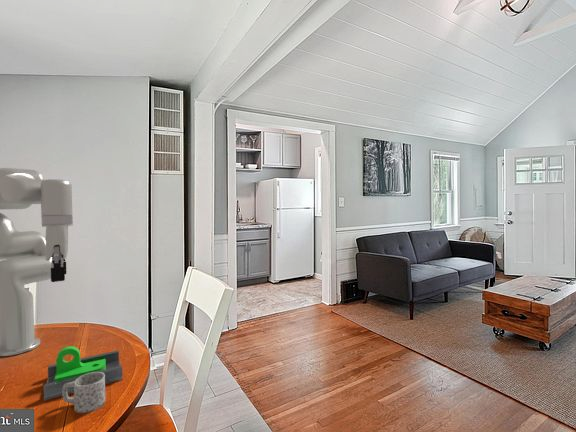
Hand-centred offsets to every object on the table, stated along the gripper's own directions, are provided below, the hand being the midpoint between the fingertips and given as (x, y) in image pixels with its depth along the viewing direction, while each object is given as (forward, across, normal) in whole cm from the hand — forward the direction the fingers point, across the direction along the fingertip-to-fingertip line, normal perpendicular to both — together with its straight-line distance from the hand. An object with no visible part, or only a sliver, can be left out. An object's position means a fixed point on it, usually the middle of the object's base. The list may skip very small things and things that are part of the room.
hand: (59, 277), depth 96 cm
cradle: (+28, +10, +6) cm, 30 cm away
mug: (+29, +23, +6) cm, 37 cm away
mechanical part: (+28, +9, +5) cm, 29 cm away
